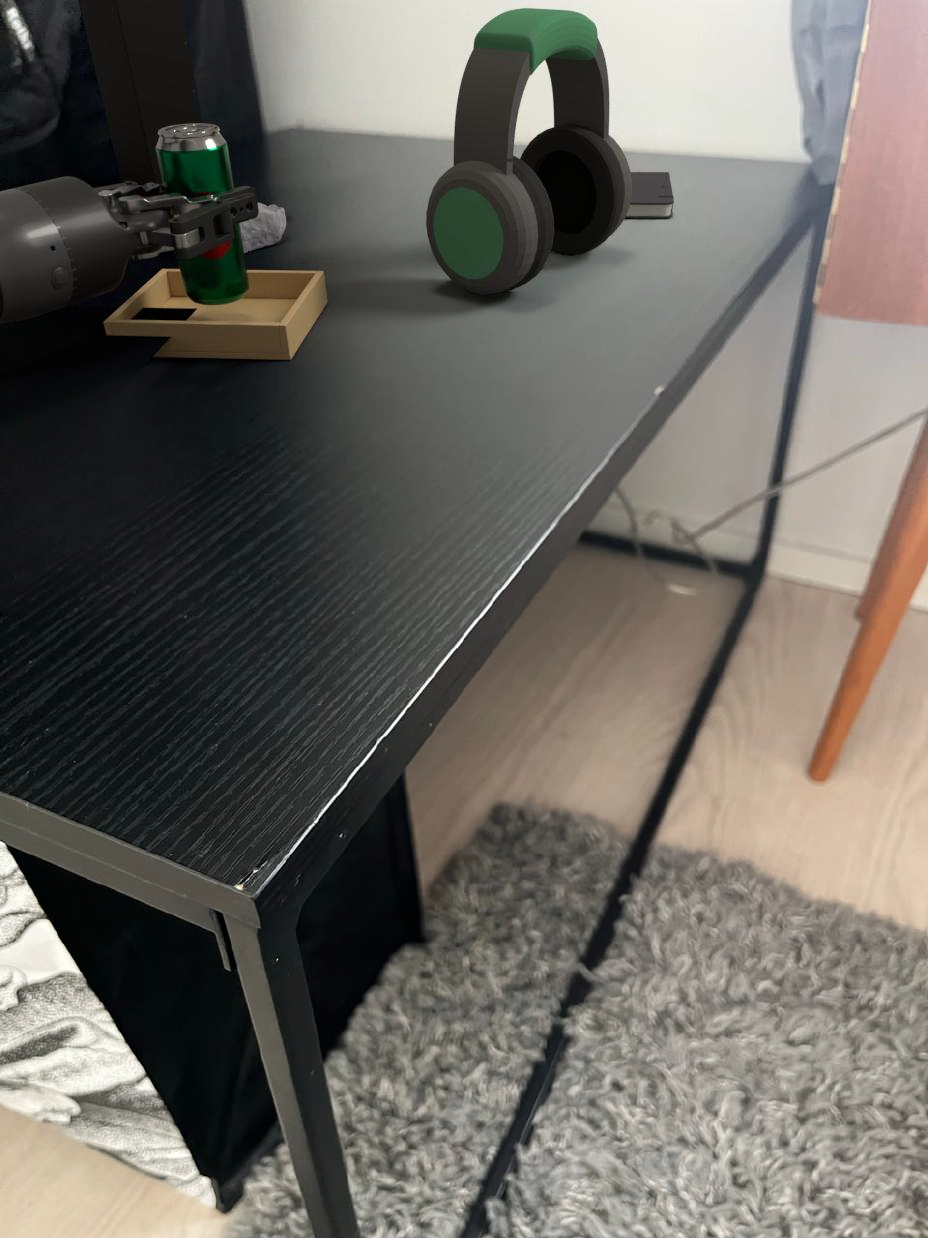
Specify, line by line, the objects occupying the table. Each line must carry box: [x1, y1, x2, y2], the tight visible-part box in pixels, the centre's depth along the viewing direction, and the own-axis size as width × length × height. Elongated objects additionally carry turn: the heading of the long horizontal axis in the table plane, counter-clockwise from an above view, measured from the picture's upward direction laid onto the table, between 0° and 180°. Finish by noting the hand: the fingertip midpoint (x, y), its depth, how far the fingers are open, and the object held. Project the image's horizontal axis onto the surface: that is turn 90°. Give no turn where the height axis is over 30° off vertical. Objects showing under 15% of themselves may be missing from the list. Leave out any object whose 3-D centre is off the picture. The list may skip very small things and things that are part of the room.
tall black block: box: [77, 0, 204, 188], centre depth 103 cm, size 8×8×28 cm
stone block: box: [240, 202, 287, 254], centre depth 95 cm, size 12×5×10 cm
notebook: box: [624, 171, 675, 219], centre depth 102 cm, size 13×2×21 cm
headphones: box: [425, 7, 632, 295], centre depth 79 cm, size 19×11×20 cm, turn 143°
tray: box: [102, 268, 329, 361], centre depth 76 cm, size 14×12×3 cm
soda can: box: [156, 122, 249, 305], centre depth 71 cm, size 5×5×12 cm
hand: (227, 195), depth 72 cm, fingers closed on soda can, 5 cm apart
